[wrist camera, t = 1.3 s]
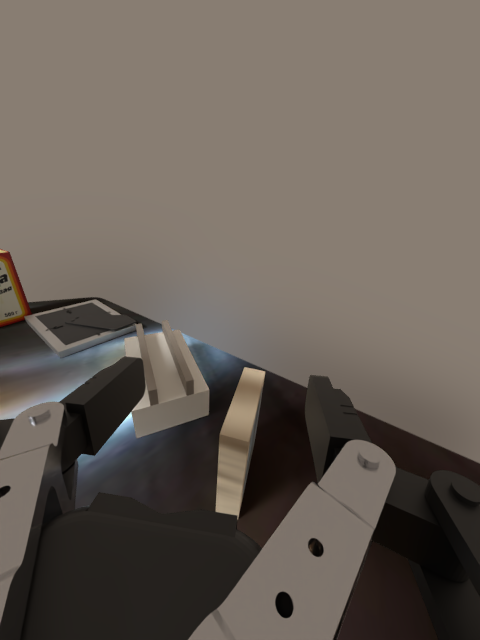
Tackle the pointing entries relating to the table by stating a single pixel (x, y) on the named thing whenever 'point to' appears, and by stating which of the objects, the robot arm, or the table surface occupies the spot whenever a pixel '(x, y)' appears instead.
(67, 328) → the picture frame
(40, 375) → the table surface
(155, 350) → the picture ledge
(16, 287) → the baking soda box
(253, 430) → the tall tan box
